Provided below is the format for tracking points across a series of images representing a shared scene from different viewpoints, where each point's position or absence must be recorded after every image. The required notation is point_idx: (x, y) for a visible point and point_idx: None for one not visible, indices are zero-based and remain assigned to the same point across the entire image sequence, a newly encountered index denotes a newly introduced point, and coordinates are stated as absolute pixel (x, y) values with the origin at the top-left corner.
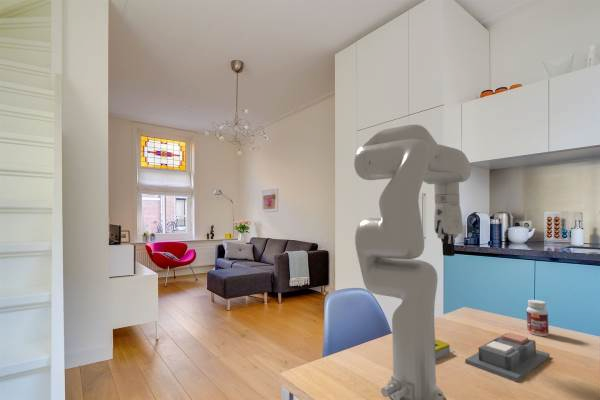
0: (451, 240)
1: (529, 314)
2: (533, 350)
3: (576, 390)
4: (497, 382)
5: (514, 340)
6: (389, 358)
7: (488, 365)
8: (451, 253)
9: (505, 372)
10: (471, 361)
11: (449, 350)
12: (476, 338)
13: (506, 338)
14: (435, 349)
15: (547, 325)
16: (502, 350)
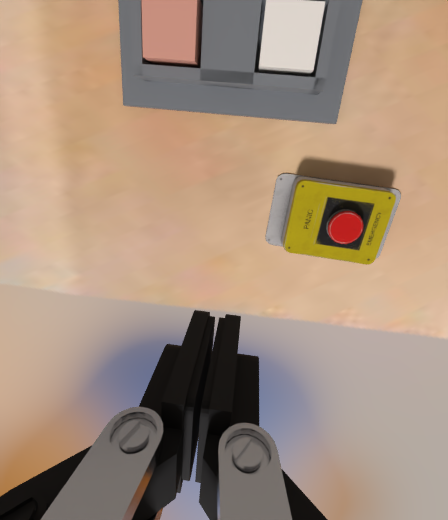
0: (146, 474)
1: None
2: None
3: None
4: (400, 14)
5: (196, 20)
6: (426, 260)
7: (335, 61)
8: (238, 331)
9: (353, 7)
10: (339, 106)
11: (303, 177)
12: (148, 168)
13: (195, 48)
14: (364, 190)
15: None
16: (322, 12)
